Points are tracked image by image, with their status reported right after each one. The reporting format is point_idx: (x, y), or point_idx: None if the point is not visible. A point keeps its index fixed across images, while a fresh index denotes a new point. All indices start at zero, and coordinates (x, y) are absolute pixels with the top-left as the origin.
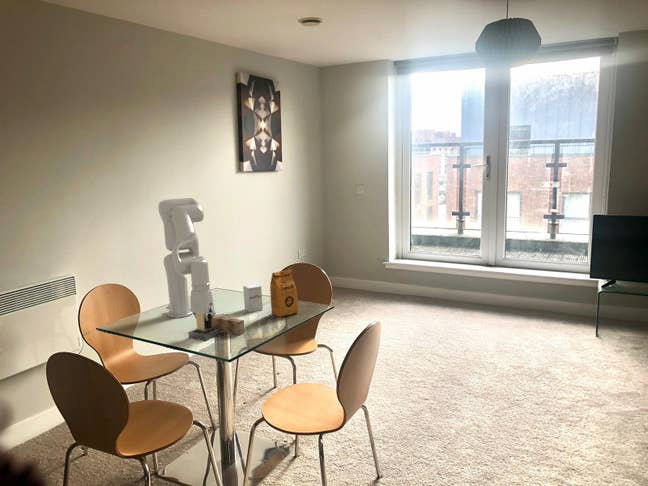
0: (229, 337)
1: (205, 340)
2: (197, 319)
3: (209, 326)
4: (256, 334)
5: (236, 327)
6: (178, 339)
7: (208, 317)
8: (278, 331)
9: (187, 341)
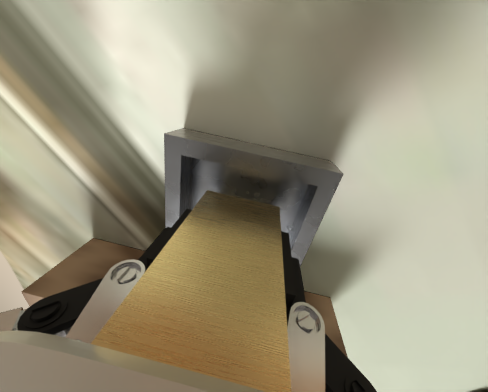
0: (110, 206)
1: (181, 129)
2: (262, 278)
3: (166, 230)
4: (48, 250)
5: (83, 268)
6: (403, 112)
7: (96, 296)
8: (18, 279)
9: (304, 88)
